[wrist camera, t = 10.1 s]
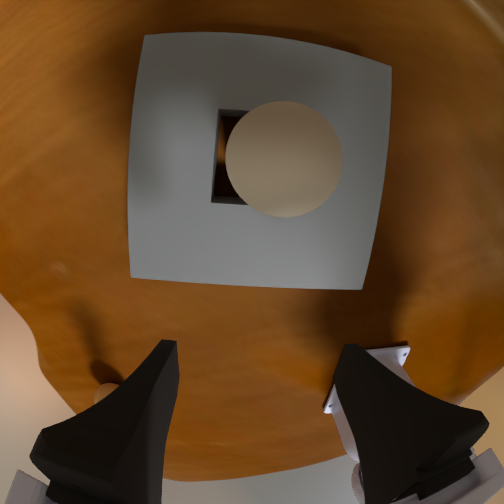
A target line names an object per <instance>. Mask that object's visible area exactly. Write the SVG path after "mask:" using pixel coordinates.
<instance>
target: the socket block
mask: <svg viewBox="0 0 504 504" xmlns="http://www.w3.org/2000/svg"><path fill="white" fill-rule="evenodd" d="M391 88H392V67H391V66H388V65H386V64H383V63H380V62H377V61H374V60H371V59H368V58H365V57H362V56H359V55H356V54H352V53H349V52H345V51H342V50H338V49H334V48H330V47H326V46H322V45H317V44H313V43H308V42H303V41H297V40H292V39H285V38H279V37H272V36H263V35H254V34H243V33H226V32H179V33H163V34H151V35H145V36H144V41H143V46H142V51H141V56H140V61H139V67H138V73H137V80H136V86H135V94H134V101H133V110H132V120H131V131H130V144H129V162H128V238H129V256H130V270H131V277H132V278H143V279H154V280H166V281H179V282H193V283H207V284H223V285H240V286H259V287H281V288H308V289H346V290H362V287H363V283H364V280H365V276H366V272H367V267H368V263H369V259H370V255H371V250H372V245H373V241H374V236H375V231H376V226H377V220H378V215H379V209H380V203H381V197H382V191H383V184H384V177H385V169H386V161H387V151H388V141H389V129H390V114H391ZM275 101H291V102H296V103H300V104H303V105H306V106H308V107H310V108H312V109H314V110H315V111H317V112H318V113H320V114H321V115H322V116H323V117H324V118H325V119H326V120H327V121H328V122H329V123H330V124H331V126H332V127H333V129H334V130H335V132H336V134H337V136H338V138H339V141H340V144H341V148H342V155H343V166H342V172H341V176H340V179H339V182H338V184H337V186H336V188H335V190H334V191H333V193H332V194H331V196H330V197H329V198H328V199H327V200H326V201H325V202H324V203H323V204H322V205H320V206H319V207H318V208H316V209H314V210H313V211H311V212H309V213H306V214H304V215H300V216H295V217H275V216H271V215H267V214H264V213H262V212H259V211H257V210H256V209H254V208H252V207H251V206H250V205H248V204H247V203H246V202H245V201H244V200H243V199H242V198H241V197H227V196H214V190H215V176H216V163H217V151H218V139H219V128H220V118H221V116H231V117H243V116H245V115H246V114H247V113H248V112H250V111H251V110H253V109H254V108H256V107H258V106H260V105H263V104H266V103H270V102H275Z"/></svg>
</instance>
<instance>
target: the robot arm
mask: <svg viewBox="0 0 504 504" xmlns="http://www.w3.org/2000/svg"><path fill="white" fill-rule="evenodd" d="M409 351H410V347H409V346H407V345H406V346H399V347H390V348H381V349H370V350H364V349H363V348H362V347H360V346H359V345H358V344H345V345H344V348H343V351H342V353H341V356H340V359H339V362H338V365H337V368H336V370H335V373H334V376H333V379H334V386H333V388H332V391H331V393H330V395H329V398H328V400H327V403H326V405H325V407H324V413H332V414H333V417H334V420H335V423H336V426H337V429H338V431H339V434H340V437H341V440H342V443H343V446H344V449H345V451H346V452H347V454H348V455H349V456H351V457H352V458H353V459H354V460H356V461H358V462H360V463H358V464H357V465H355V467H354V470H353V474H352V480H351V481H352V488H353V491H354V494H355V496H356V498H357V500H358V502H359V503H360V504H485V503H486V502H487V501H488V500H489V499H491V497H493V496H494V495H495V494H496V493H497V492H499V491H500V490H501V489H502V488H503V487H504V468H503V466H502V465H501V463H500V461H499V460H498V459H497V457H496V455H495V453H494V452H493V450H492V449H491V448H489V449H488V450H486V451H485V452H483V453H482V454H480V455H479V456H476V454H475V453H474V451H475V450H474V448H473V447H472V446H473V445H474V444H475V443H476V442H477V441H478V440H479V438H480V437H481V436H482V435H483V434H484V433H485V431H486V430H487V428H488V426H489V422H488V420H487V419H486V417H485V416H484V414H483V413H482V412H481V411H478V410H473V409H469V408H464V407H460V406H457V405H454V404H451V403H448V402H445V401H443V400H440V399H438V398H436V397H433V396H431V395H429V394H427V393H425V392H423V391H421V390H420V389H418V388H416V386H415V385H414V383H413V382H412V380H411V379H410V377H409V376H408V374H407V373H406V371H405V370H404V369H403V367H402V366H403V364H404V362H405V360H406V357H407V355H408V353H409ZM178 383H179V366H178V354H177V342H176V341H172V340H163V339H162V340H161V341H160V342H159V343H158V344H157V346H156V347H155V348H154V349H153V351H152V352H151V353H150V354H149V355H148V357H147V358H146V359H145V360H144V361H143V362H142V363H141V364H140V366H139V367H138V368H137V369H136V370H135V371H134V372H133V373H132V374H131V375H130V376H129V377H128V378H127V379H126V380H125V381H124V382H123V383H122V384H121V385H119V386H118V387H117V388H116V389H115V390H114V391H112V392H111V393H110V394H109V395H107V396H106V397H105V398H103V399H102V400H100V401H99V402H97V403H96V404H95V405H93V406H91V407H90V408H88V409H87V410H85V411H83V412H81V413H79V414H77V415H75V416H74V417H72V418H70V419H67V420H65V421H63V422H60V423H58V424H55V425H52V426H50V427H47V428H44V429H42V430H41V432H40V434H39V435H38V438H37V440H36V442H35V444H34V446H33V449H32V451H31V453H30V459H31V461H32V463H33V464H34V465H35V466H36V467H37V468H38V469H39V470H40V471H41V472H42V473H43V474H44V475H45V476H46V477H47V478H48V479H50V480H51V481H50V484H49V486H47V485H46V484H45V483H43V482H41V481H39V480H37V479H35V478H34V477H32V476H30V475H28V474H26V473H24V472H23V471H21V470H17V472H16V475H15V477H14V480H13V482H12V485H11V488H10V490H9V493H8V496H7V499H6V502H5V504H161V496H162V476H163V463H164V453H165V444H166V439H167V434H168V430H169V426H170V422H171V418H172V414H173V410H174V406H175V402H176V398H177V391H178Z"/></svg>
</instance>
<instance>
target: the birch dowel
mask: <svg viewBox="0 0 504 504" xmlns="http://www.w3.org/2000/svg"><path fill="white" fill-rule="evenodd" d="M342 166H343V155H342V148H341V144H340V141H339V138H338V136H337V134H336V132H335V130H334V129H333V127H332V126H331V124H330V123H329V122H328V121H327V120H326V119H325V118H324V117H323V116H322V115H321V114H320V113H318V112H317V111H315V110H314V109H312V108H310V107H308V106H306V105H303V104H300V103H296V102H291V101H275V102H270V103H266V104H263V105H260V106H258V107H256V108H254V109H253V110H251V111H250V112H248V113H247V114H246V115H245V116H243V117H242V118H241V119H240V121H239V122H238V123H237V124H236V126H235V127H234V129H233V131H232V132H231V135H230V137H229V140H228V143H227V147H226V169H227V173H228V177H229V179H230V182H231V184H232V186H233V188H234V189H235V191H236V192H237V194H238V195H239V196H240V197H241V198H242V199H243V200H244V201H245V202H246V203H247V204H248V205H250V206H251V207H252V208H254V209H256V210H257V211H259V212H262V213H264V214H267V215H271V216H275V217H295V216H300V215H304V214H306V213H309V212H311V211H313V210H314V209H316V208H318V207H319V206H320V205H322V204H323V203H324V202H325V201H326V200H327V199H328V198H329V197H330V196H331V194H332V193H333V191H334V190H335V188H336V186H337V184H338V182H339V179H340V176H341V172H342Z"/></svg>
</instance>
